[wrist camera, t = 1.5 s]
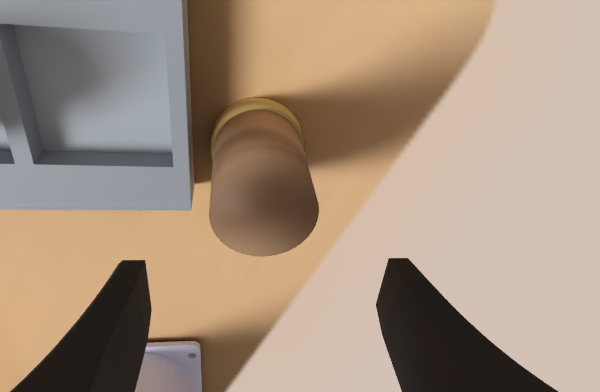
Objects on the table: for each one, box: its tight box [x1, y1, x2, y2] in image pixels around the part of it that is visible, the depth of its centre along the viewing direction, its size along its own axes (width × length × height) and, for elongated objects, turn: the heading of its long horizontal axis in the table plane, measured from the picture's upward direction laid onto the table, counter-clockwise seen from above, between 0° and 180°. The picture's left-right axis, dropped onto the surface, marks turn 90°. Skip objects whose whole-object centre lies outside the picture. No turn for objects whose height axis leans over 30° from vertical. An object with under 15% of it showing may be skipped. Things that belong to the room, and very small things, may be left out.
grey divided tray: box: [0, 0, 194, 210], centre depth 18 cm, size 10×13×2 cm
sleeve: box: [209, 98, 319, 256], centre depth 19 cm, size 4×4×6 cm
